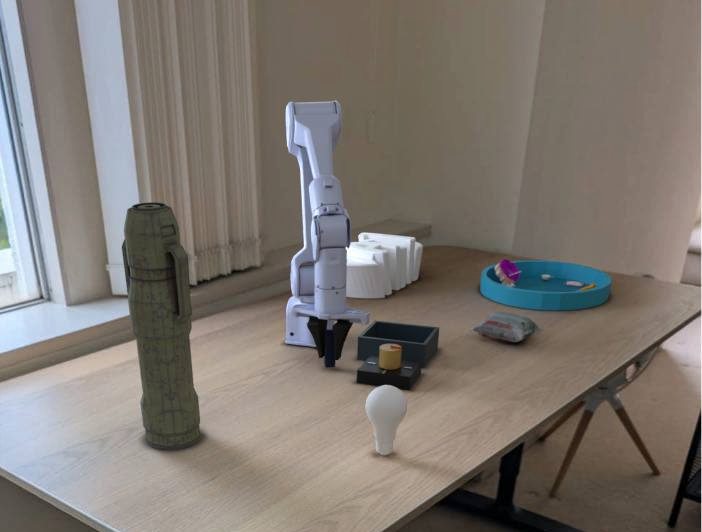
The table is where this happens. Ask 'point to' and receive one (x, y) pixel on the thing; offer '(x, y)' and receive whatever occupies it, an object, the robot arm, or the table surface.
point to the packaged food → (506, 327)
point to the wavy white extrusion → (381, 264)
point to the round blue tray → (545, 285)
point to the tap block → (389, 374)
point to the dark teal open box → (399, 340)
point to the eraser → (329, 349)
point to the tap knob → (390, 356)
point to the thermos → (161, 324)
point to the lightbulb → (385, 415)
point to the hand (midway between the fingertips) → (329, 357)
